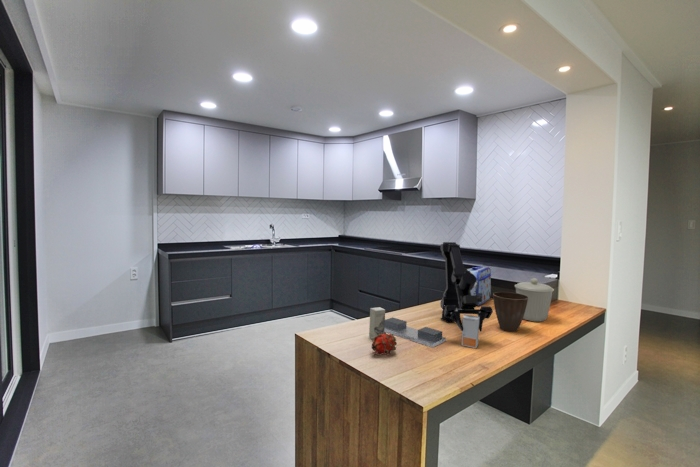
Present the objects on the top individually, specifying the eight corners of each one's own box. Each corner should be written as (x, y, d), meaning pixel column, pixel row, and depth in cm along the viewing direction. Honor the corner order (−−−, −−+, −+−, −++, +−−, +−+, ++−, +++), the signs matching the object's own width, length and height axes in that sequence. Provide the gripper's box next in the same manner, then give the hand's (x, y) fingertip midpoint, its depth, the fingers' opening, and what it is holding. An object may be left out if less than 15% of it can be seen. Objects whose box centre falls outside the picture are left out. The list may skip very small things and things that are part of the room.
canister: (543, 326, 171) (546, 283, 170) (506, 317, 185) (508, 277, 184) (557, 319, 183) (560, 279, 182) (521, 311, 197) (523, 273, 196)
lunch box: (479, 308, 201) (481, 269, 200) (461, 305, 207) (463, 267, 206) (492, 299, 224) (493, 264, 222) (475, 296, 230) (476, 262, 228)
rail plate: (393, 325, 168) (394, 316, 168) (445, 341, 149) (446, 330, 149) (380, 330, 161) (380, 320, 161) (432, 347, 142) (433, 336, 142)
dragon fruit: (397, 354, 139) (374, 366, 131) (383, 336, 143) (361, 347, 136) (405, 341, 134) (383, 353, 126) (391, 323, 138) (368, 334, 131)
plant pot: (484, 326, 170) (486, 293, 169) (505, 322, 177) (506, 290, 176) (512, 336, 157) (514, 300, 156) (533, 331, 164) (535, 297, 163)
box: (374, 341, 147) (374, 310, 147) (368, 337, 151) (369, 307, 150) (384, 339, 150) (385, 309, 149) (379, 336, 154) (380, 306, 153)
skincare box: (461, 345, 145) (462, 316, 144) (463, 342, 148) (464, 314, 148) (476, 348, 142) (478, 319, 141) (478, 345, 145) (479, 316, 145)
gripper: (446, 286, 148) (452, 320, 137) (492, 287, 147) (501, 322, 137) (441, 300, 156) (446, 333, 146) (484, 301, 156) (492, 335, 145)
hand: (471, 330), depth 143 cm, fingers closed on skincare box, 7 cm apart
